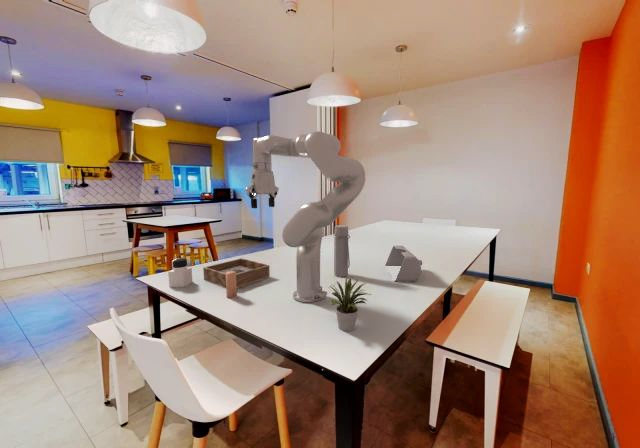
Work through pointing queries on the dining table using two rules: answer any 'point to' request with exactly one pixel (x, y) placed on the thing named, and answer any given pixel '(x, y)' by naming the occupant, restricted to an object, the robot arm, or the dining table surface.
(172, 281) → the medicine bottle
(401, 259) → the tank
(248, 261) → the open box
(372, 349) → the dining table surface
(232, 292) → the peg
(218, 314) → the dining table surface
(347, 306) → the house plant
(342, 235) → the water bottle
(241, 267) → the bore plate
